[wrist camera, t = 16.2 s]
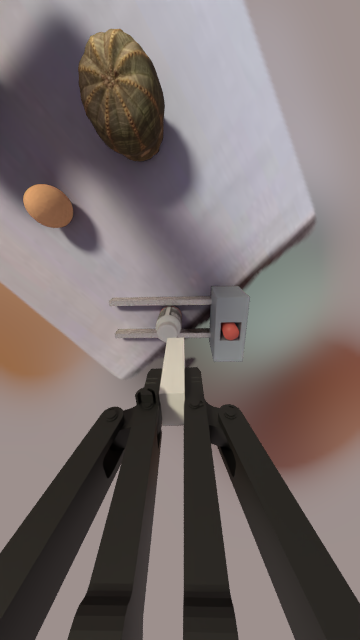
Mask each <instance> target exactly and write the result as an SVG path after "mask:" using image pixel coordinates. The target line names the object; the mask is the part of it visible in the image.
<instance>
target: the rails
mask: <svg viewBox="0 0 360 640" xmlns="http://www.w3.org/2000/svg"><path fill="white" fill-rule="evenodd" d="M109 304H110V306H149V305H212V298H211V296H196V297H133V298H112V299H111V300H110V301H109ZM201 337H211V331H210V328H204V329H203V328H198V329H181V331H180V333H179V334H178V335H177V337H176V338H201ZM115 338H159V337H158V335H157V331H156V329H118V330H117V331H116V333H115Z"/></svg>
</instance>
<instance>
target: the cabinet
mask: <svg viewBox="0 0 360 640" xmlns="http://www.w3.org/2000/svg"><path fill="white" fill-rule="evenodd" d="M211 298H212V305H211V307H210V331H211V337H209V342H210V347H211V351H212V356H213V360H214V361H243V353H244V343H245V335H246V327H247V318H248V309H249V301H250V297H249V296H248V295H247V294H246V293H245V292H244V291H243V290H242V289H241V288H240V287H239V286H211ZM221 322H234V323H235V324H236V326H237V328H238V330H239V335H238V337H237V338H236V339H234V340H228V339H226V338H225V337H224V335H223V332H222V330H221Z"/></svg>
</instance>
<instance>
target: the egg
mask: <svg viewBox="0 0 360 640" xmlns="http://www.w3.org/2000/svg"><path fill="white" fill-rule="evenodd" d="M23 202H24V206H25V208H26V210H27V211H28V213H29V214H30V215H31V216H32V217H33V218H34V219H35V220H36V221H37V222H39V223H41V224H42V225H45V226H48V227H52V228H61V227H64V226H66V225H67V224H69V223H70V221H71V220H72V217H73V208H72V204H71V202H70V200H69V199H68V198H67V196H66V195H65V194H64V193H63V192H61V191H60V190H59V189H57V188H55V187H53V186H50V185H46V184H37V185H34V186H32V187H30V188H29V189H27V191H26V192H25V194H24V198H23Z"/></svg>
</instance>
